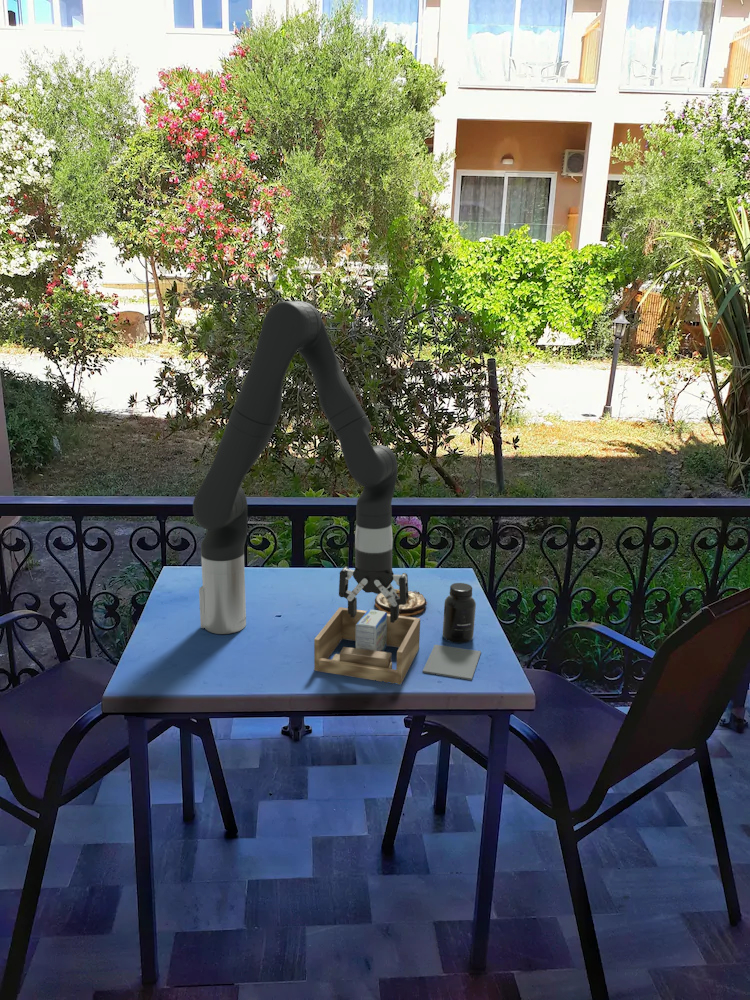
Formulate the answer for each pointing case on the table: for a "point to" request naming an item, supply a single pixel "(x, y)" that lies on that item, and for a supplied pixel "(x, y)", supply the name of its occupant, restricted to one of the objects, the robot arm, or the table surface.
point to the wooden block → (364, 657)
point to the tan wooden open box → (344, 627)
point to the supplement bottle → (459, 614)
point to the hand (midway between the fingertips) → (373, 618)
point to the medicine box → (372, 631)
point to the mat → (452, 662)
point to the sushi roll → (411, 608)
